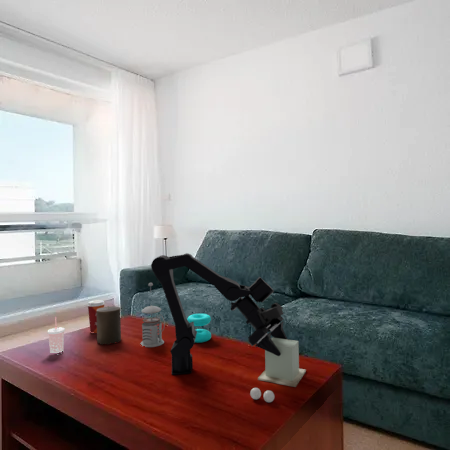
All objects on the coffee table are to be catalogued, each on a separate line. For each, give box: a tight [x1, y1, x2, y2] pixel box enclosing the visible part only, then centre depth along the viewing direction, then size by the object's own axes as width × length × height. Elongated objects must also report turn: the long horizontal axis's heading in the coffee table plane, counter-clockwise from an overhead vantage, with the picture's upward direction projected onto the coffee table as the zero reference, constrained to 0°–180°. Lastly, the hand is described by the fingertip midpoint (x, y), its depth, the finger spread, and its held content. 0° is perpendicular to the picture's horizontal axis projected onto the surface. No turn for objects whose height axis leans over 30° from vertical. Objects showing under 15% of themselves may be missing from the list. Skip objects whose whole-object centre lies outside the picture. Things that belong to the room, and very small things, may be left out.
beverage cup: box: [47, 316, 66, 353], centre depth 139 cm, size 6×6×14 cm
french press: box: [139, 282, 166, 348], centre depth 147 cm, size 10×12×25 cm
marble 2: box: [263, 389, 275, 403], centre depth 98 cm, size 3×3×3 cm
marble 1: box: [249, 387, 262, 400], centre depth 100 cm, size 3×3×3 cm
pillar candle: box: [96, 305, 122, 345], centre depth 152 cm, size 10×10×15 cm
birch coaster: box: [257, 368, 307, 388], centre depth 114 cm, size 12×12×1 cm
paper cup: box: [86, 299, 106, 333], centre depth 164 cm, size 8×8×14 cm
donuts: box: [186, 313, 212, 344], centre depth 151 cm, size 10×10×10 cm
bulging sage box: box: [264, 336, 300, 381], centre depth 114 cm, size 9×7×10 cm
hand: (284, 350), depth 114 cm, fingers open, 9 cm apart
